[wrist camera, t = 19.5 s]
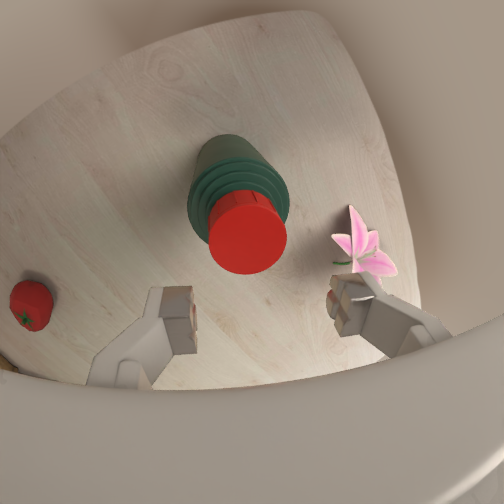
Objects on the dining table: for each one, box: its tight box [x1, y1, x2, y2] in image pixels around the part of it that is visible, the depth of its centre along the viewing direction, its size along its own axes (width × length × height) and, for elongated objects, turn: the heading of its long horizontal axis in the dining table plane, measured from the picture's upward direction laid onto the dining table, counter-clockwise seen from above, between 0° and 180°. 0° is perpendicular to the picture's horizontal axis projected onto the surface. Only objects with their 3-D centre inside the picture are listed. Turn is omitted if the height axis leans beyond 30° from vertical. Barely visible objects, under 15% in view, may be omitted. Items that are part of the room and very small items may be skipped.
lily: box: [332, 205, 398, 287], centre depth 34 cm, size 12×12×10 cm
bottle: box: [187, 134, 290, 244], centre depth 22 cm, size 7×7×18 cm
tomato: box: [10, 280, 53, 332], centre depth 31 cm, size 8×8×7 cm
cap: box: [208, 190, 287, 275], centre depth 14 cm, size 4×4×2 cm
